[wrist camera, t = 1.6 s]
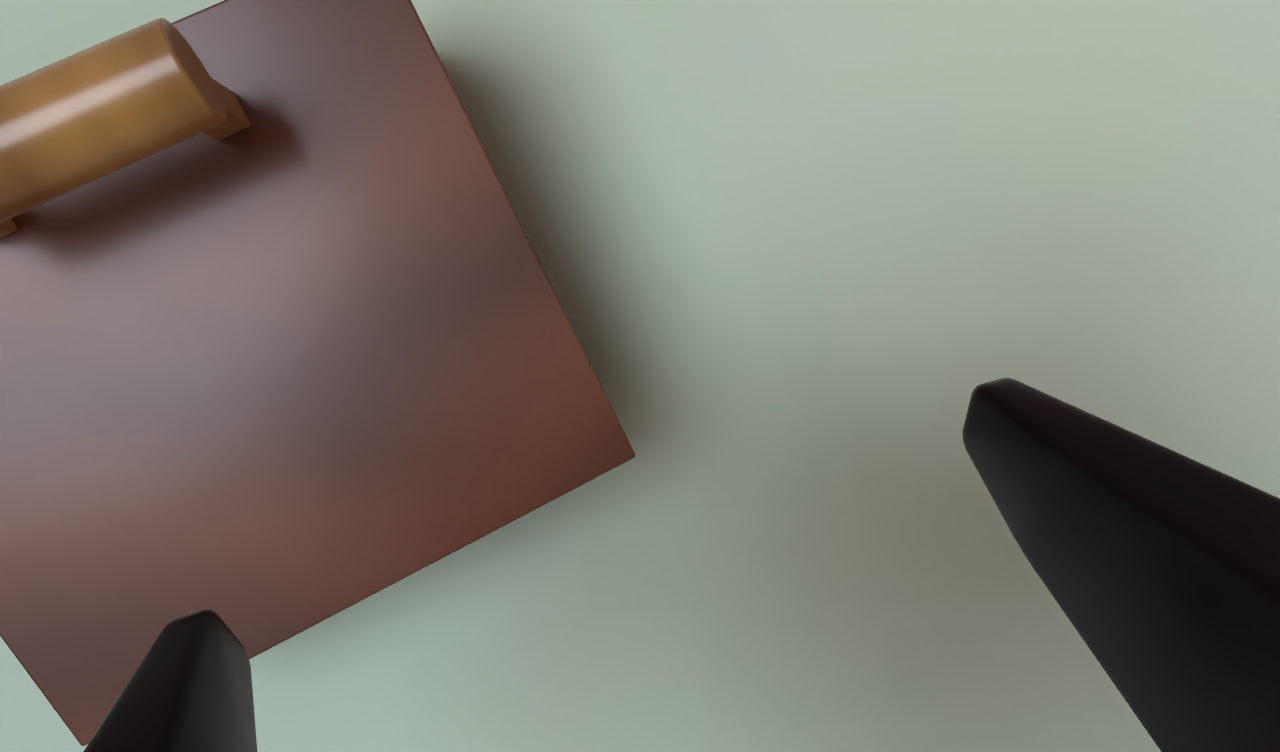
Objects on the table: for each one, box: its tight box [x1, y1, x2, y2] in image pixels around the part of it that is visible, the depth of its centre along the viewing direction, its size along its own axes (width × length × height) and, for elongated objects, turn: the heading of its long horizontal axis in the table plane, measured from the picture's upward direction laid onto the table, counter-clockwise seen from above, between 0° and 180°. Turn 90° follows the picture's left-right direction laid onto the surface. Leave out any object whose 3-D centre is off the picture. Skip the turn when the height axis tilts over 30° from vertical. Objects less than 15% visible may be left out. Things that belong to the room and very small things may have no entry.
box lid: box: [0, 0, 635, 746], centre depth 14 cm, size 11×13×4 cm
